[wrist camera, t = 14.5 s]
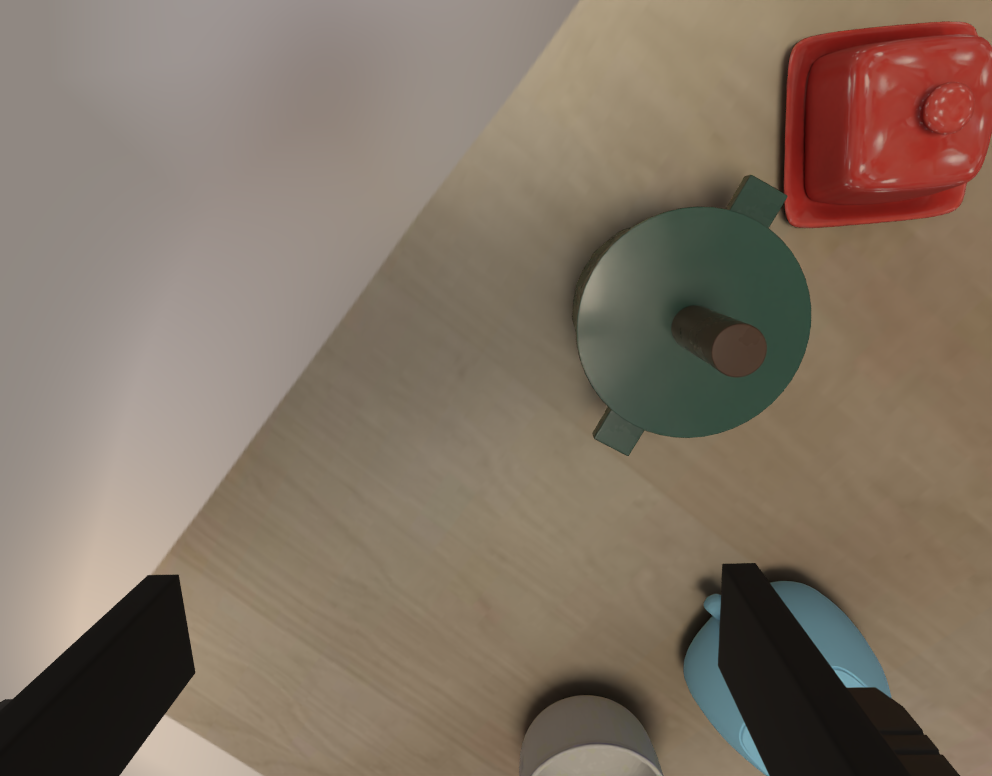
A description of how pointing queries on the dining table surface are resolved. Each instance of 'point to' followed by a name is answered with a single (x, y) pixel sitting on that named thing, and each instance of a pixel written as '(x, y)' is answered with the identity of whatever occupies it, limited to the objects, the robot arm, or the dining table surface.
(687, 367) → the pot lid
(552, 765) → the teacup
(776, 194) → the pot
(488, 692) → the dining table surface
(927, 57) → the butter dish
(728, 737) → the teapot
